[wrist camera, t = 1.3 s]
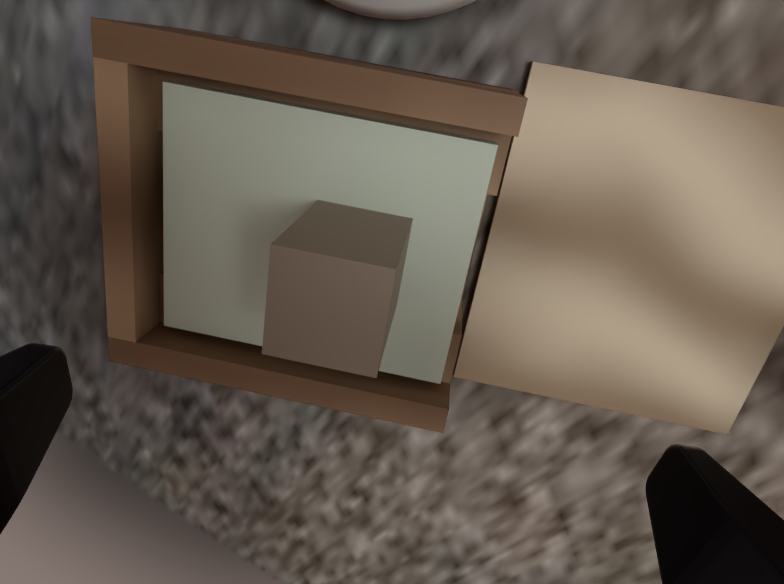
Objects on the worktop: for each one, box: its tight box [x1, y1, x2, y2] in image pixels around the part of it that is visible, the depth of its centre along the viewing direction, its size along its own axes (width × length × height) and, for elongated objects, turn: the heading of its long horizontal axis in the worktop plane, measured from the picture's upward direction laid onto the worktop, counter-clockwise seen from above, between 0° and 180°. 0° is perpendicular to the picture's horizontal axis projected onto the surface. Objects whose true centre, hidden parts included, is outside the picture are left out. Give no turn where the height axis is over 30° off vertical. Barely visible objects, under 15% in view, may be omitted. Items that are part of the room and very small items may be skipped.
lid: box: [163, 81, 498, 384], centre depth 16 cm, size 8×10×5 cm
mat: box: [454, 62, 784, 434], centre depth 21 cm, size 13×12×1 cm
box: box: [91, 17, 528, 433], centre depth 19 cm, size 11×12×6 cm
